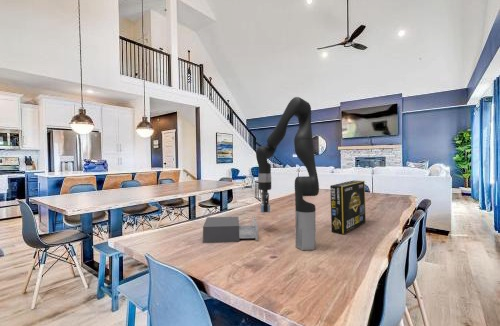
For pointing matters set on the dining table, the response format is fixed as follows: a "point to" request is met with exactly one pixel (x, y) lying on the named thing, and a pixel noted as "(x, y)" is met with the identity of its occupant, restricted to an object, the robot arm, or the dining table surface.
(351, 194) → the box
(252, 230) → the tray
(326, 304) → the dining table surface
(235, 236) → the housing
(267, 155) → the robot arm
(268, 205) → the cartridge
